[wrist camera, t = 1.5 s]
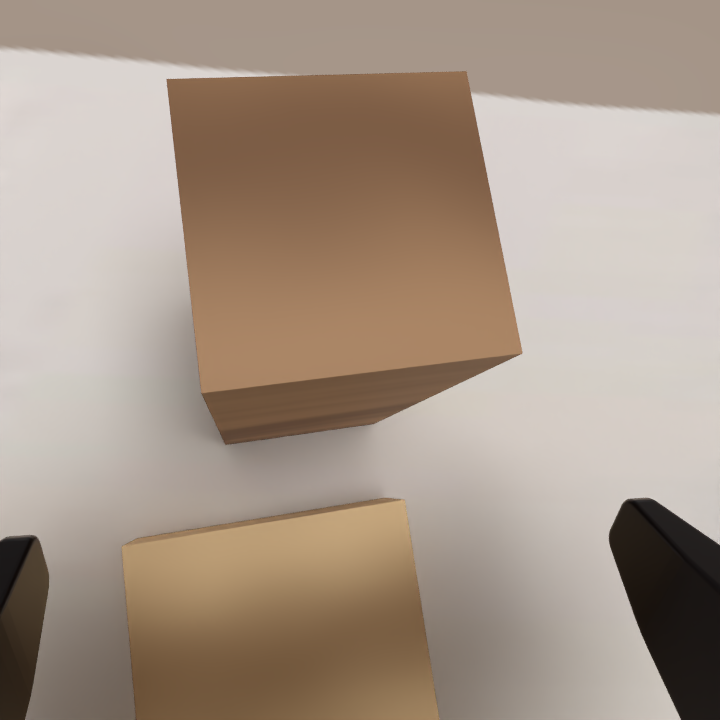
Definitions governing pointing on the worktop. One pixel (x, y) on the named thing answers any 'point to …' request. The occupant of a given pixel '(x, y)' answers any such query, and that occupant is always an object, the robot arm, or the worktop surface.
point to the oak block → (280, 619)
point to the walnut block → (336, 246)
